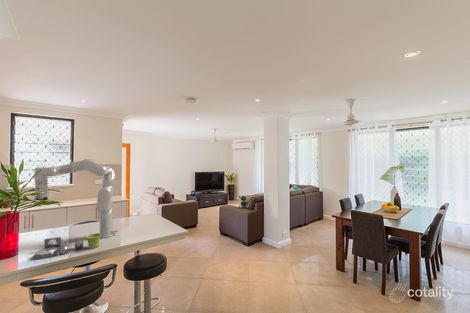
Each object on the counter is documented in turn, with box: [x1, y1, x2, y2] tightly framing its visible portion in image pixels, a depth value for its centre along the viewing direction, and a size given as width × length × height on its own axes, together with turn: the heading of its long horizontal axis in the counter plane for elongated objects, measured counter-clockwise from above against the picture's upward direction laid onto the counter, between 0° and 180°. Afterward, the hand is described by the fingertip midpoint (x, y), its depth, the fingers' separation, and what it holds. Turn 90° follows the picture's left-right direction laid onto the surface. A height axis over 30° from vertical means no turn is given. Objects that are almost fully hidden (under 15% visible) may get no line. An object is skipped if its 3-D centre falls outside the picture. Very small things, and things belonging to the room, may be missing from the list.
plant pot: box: [85, 232, 101, 250], centre depth 159 cm, size 9×9×9 cm
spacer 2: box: [74, 239, 84, 251], centre depth 157 cm, size 5×5×5 cm
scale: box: [32, 236, 64, 261], centre depth 149 cm, size 16×11×8 cm
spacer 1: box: [58, 244, 69, 256], centre depth 149 cm, size 5×5×5 cm
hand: (41, 204), depth 168 cm, fingers open, 9 cm apart
